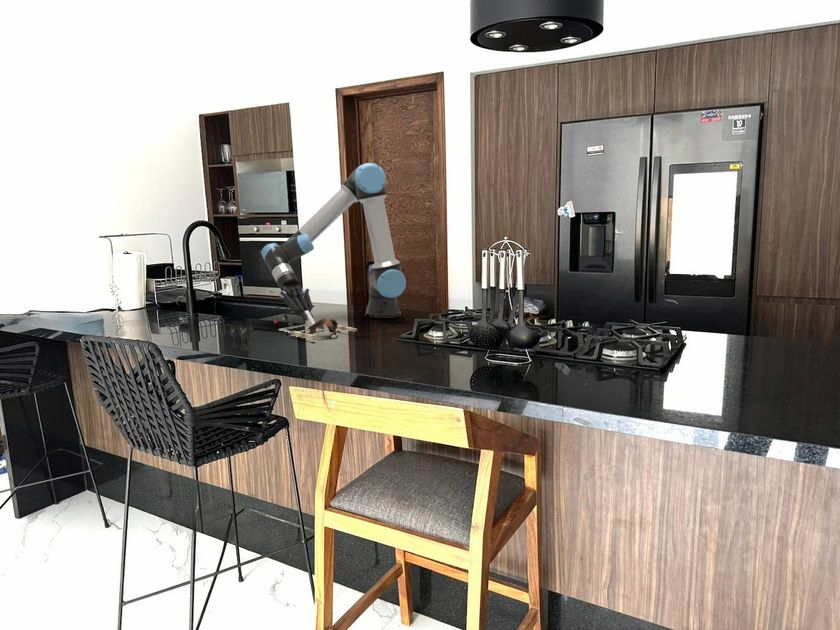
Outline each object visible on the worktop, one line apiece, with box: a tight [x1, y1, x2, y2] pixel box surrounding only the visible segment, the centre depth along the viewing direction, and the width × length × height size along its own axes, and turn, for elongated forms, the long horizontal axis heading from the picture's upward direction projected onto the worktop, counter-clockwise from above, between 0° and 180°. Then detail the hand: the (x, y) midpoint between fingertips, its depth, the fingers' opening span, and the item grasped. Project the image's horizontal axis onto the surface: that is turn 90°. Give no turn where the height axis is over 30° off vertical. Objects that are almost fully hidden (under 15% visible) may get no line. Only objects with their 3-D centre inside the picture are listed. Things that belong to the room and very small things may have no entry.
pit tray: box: [277, 323, 318, 333], centre depth 236 cm, size 10×14×2 cm
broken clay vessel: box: [308, 317, 338, 337], centre depth 226 cm, size 12×10×8 cm
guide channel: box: [290, 325, 358, 341], centre depth 226 cm, size 14×19×2 cm
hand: (312, 326), depth 229 cm, fingers closed
